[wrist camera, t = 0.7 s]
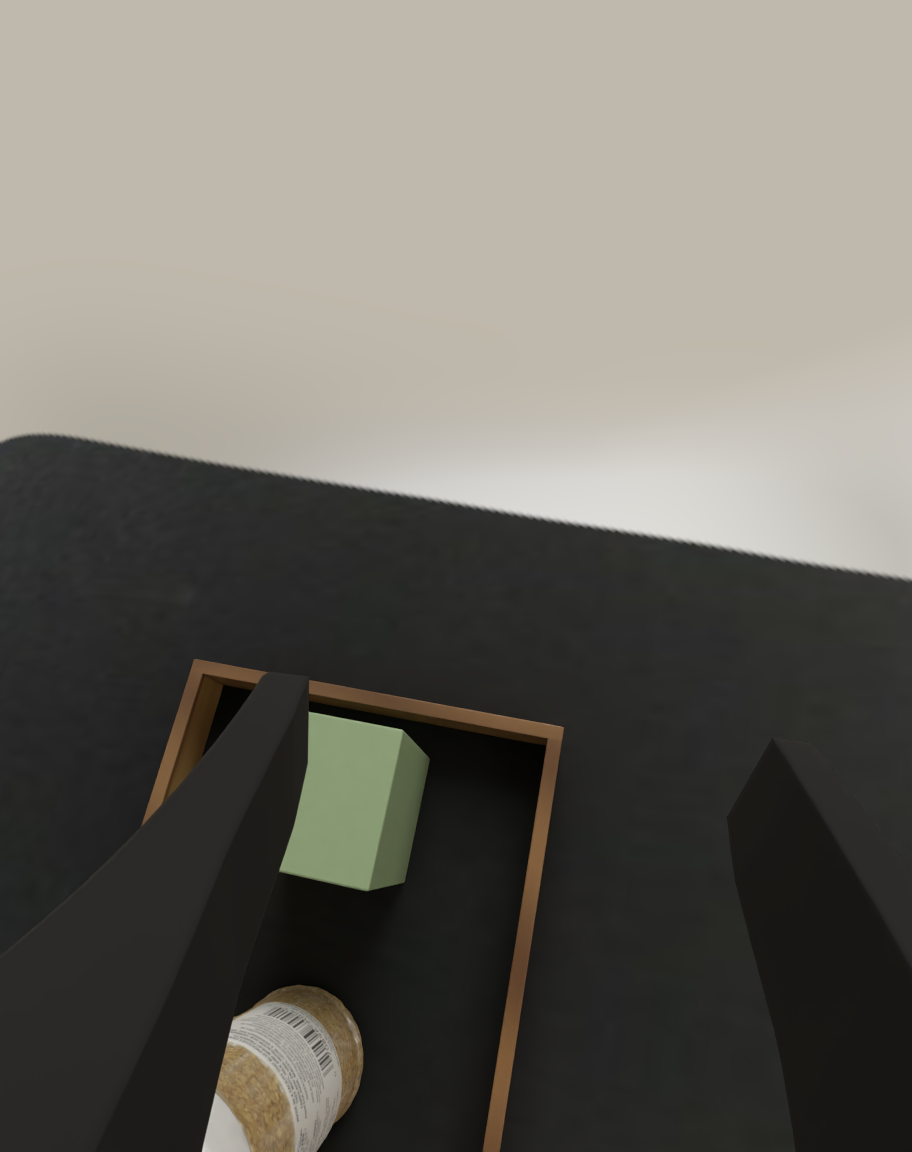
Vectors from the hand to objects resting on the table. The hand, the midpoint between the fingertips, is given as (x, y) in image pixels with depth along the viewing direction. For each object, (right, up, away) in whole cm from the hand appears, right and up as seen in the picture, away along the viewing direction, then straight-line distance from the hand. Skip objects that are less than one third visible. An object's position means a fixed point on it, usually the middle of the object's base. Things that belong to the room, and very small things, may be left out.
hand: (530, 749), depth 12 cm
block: (-5, -6, +17) cm, 18 cm away
